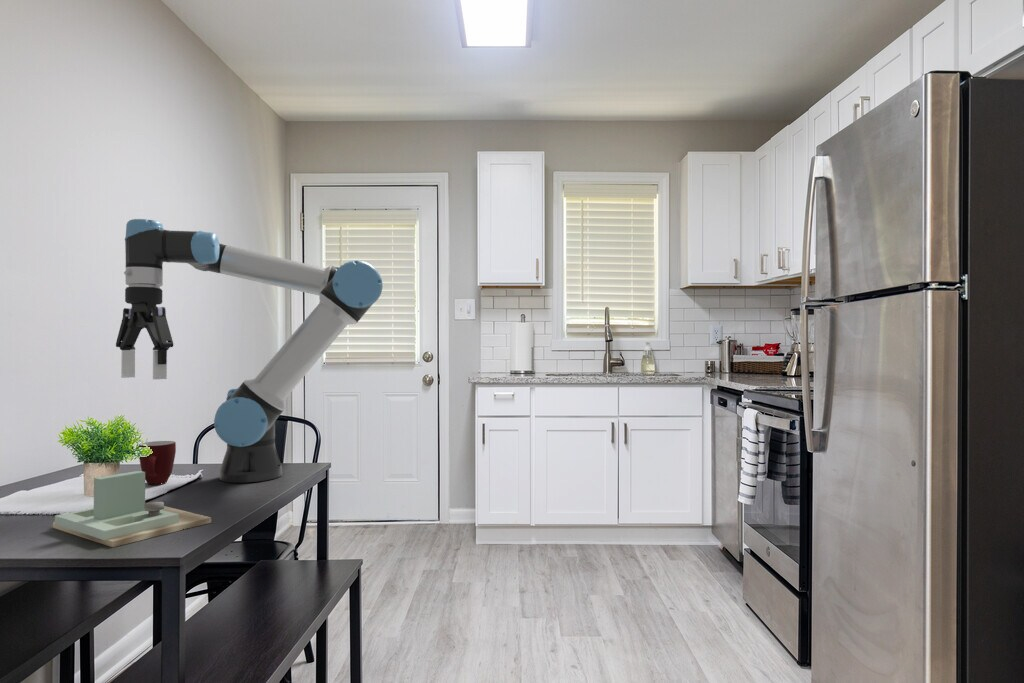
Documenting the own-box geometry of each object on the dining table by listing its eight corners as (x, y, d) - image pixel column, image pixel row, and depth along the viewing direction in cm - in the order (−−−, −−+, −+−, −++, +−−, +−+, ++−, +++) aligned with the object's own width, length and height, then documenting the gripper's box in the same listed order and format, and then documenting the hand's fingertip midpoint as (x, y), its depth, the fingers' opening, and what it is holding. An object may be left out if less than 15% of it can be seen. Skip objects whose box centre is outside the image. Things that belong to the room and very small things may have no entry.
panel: (127, 509, 130) (127, 464, 130) (178, 522, 120) (178, 474, 120) (54, 524, 119) (55, 475, 119) (104, 540, 109) (104, 487, 109)
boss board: (149, 507, 135) (149, 485, 135) (211, 522, 124) (211, 498, 124) (52, 527, 120) (52, 503, 120) (112, 547, 108) (112, 520, 108)
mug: (173, 487, 154) (173, 446, 154) (134, 490, 151) (135, 448, 151) (176, 478, 164) (177, 440, 164) (140, 481, 161) (141, 441, 161)
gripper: (99, 288, 152) (99, 377, 151) (157, 282, 138) (156, 380, 138) (132, 290, 158) (131, 376, 158) (190, 285, 145) (190, 379, 145)
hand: (143, 378), depth 148 cm, fingers open, 13 cm apart
